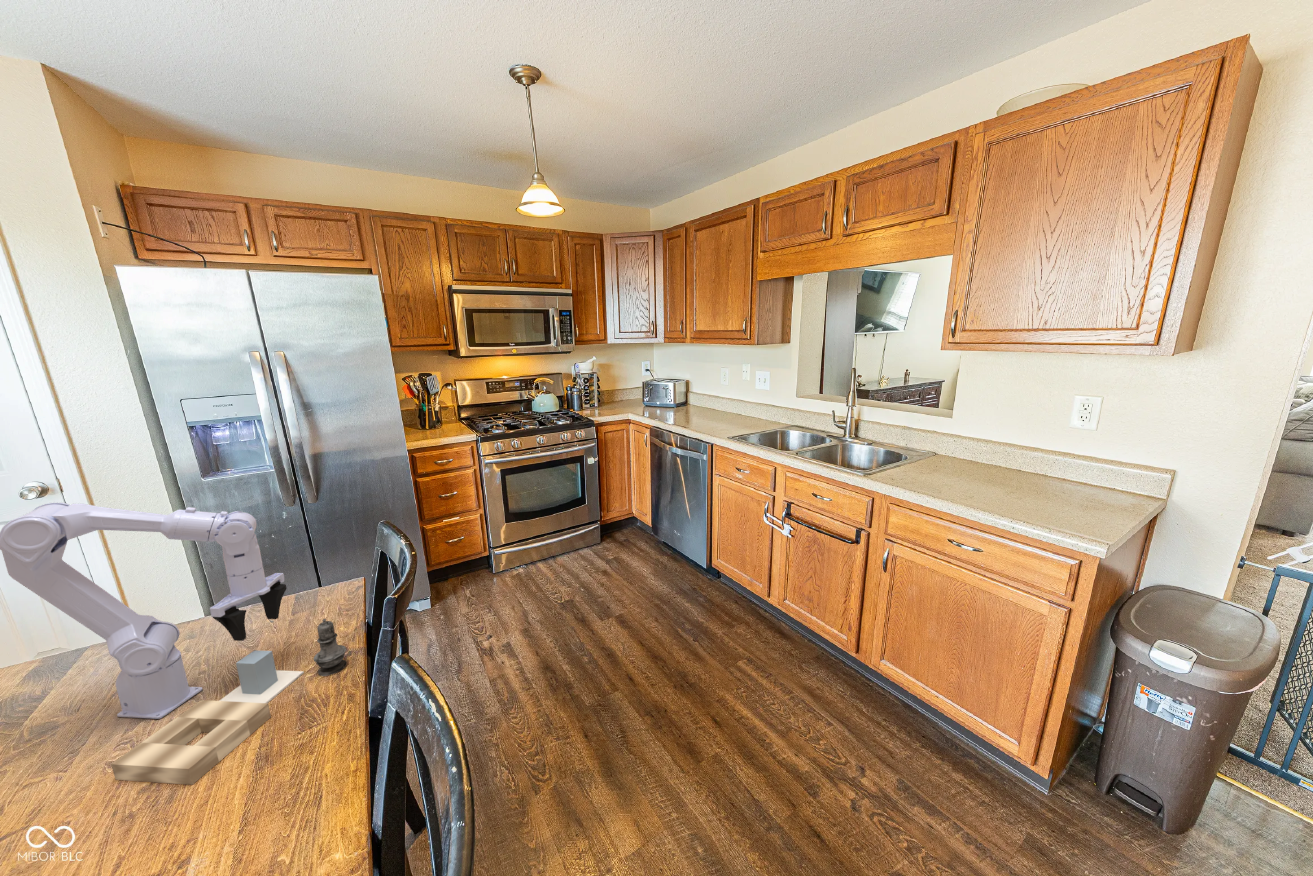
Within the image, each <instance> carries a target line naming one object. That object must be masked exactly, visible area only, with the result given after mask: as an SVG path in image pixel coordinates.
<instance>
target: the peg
mask: <svg viewBox="0 0 1313 876" xmlns="http://www.w3.org/2000/svg"><path fill="white" fill-rule="evenodd" d="M235 666H236V670H237V673H238V675H237V676H238V679H239V684H240V685H241V689H242V694H262V693H263V692H264V691H265V690H267V689H268V688H269V687H271V686H272V685H273V684H274V683H276V682H277V681H278V678H277V673H276V670H277V668H276V663H275V658H274V654H273V650H259V649H257V650H256V649H255V650H253V651H252V652H250V653H248V654H247V655H245V656H244V657H242V658H241V659H240V660H238V661H237V662H236V663H235Z"/></svg>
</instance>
